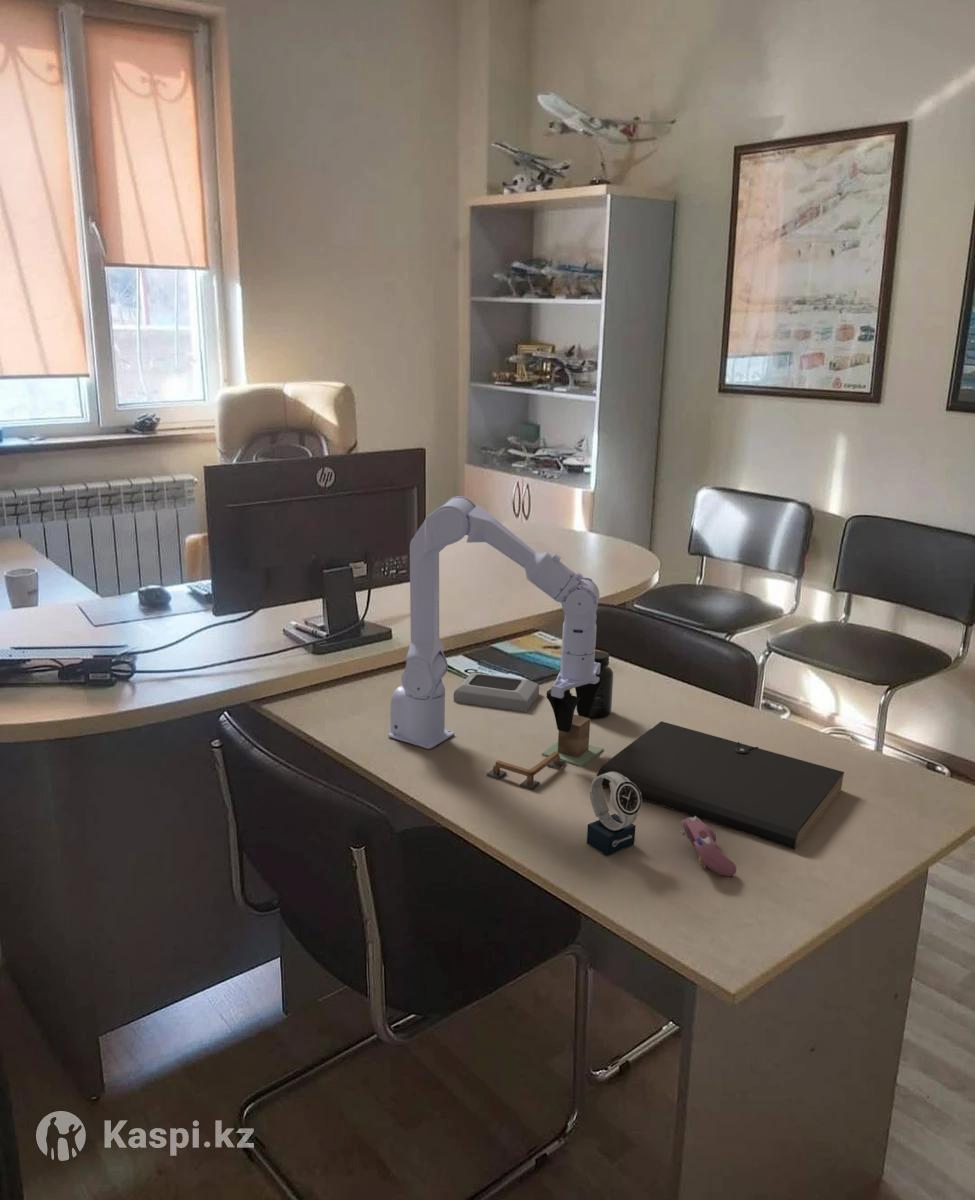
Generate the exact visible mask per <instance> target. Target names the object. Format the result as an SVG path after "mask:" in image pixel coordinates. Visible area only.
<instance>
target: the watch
mask: <svg viewBox="0 0 975 1200" xmlns="http://www.w3.org/2000/svg"><path fill="white" fill-rule="evenodd" d="M604 778H606V779H609V781H611V782H610V783H609V785H610V788H609V789H610V803H611V806H612V808H613V810H614V811H615V812H616V813H617V814H616V813H613V814H610V813H609V811H610V809H609V805H608V804H607V799H606V796H605V790H604V789H603V786H602V781H603V779H604ZM589 797H590V802H591V805H592V806H591V807H592V810H593V812H594V814H595V817H597V818H598V819H597V820H595V821H592V822H590V823H588V824H587V832H586V844H587V845H589V846H590V847H592V848H593V849H595V850H597V852H600V853H601V852H602V853H601V854H602V855H604V856H605V857H609V856H611V855H614V854H616V853H618V852H620V851H622V850H625V849H627V848H630V847H632V846H634V845H635V842H636V841H635V838H636V827H637V826H636V824H634V823H635V821H636V819H637V817H638V816H639V813H640V809H641V807H642V801H643V799H641V792H640V791H639V789H638V788H637V786H636V785H635V784H634V783H632V782H630V780H629V779H628V778H627V777H624V776H623V775H621V774H620V773H617V772H608V773H605V774H602V775H600V776H597V775H596V777H594V778H593V780H592V782H591V784H590V791H589Z"/></svg>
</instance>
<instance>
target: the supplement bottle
mask: <svg viewBox="0 0 975 1200" xmlns="http://www.w3.org/2000/svg"><path fill="white" fill-rule="evenodd" d="M594 662H597V663H600V664H601V666H600V674H598V675H597V676H598V677H602V678H604V679H605V681H604V684H603V686H602V687H601V689H600V690H599V692H598V695H597V697H596V700H595V703H594V706H593V709H592V712H591V715H590V717H589V718H590V720H598V719H599V720H600V719H606V718H607V717H609V716H610V715H611V714H612V706H613V705H612V704H613V689H614V687H613V686H614V672H613V669H612V668H611V667H610V666H609V665H610V655H609V654H608V653H607V652H605V651H600V650H595V660H594ZM575 711H576V713H577V714H578V712H577V705H576V708H575ZM586 718H587V717H586Z"/></svg>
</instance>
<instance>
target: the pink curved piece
mask: <svg viewBox="0 0 975 1200" xmlns="http://www.w3.org/2000/svg"><path fill="white" fill-rule="evenodd" d="M681 824H682V829H680V834H681V836H682V837H683V838H685V837H686V838H688V839H689V841H690V842H691V844H692V846H693V849H694V850H695V852H696V854H697V856H698V859H697V860H698V862H699V864H700V865H701V864H702V865H703V866H704V868H705V869H706V868H709V869H711V870H712V871H714V872H715V873H716V874H719V875H721V876H724V877H733V876H734V875H735V874H736V872H737V868H736V864H735V863H734V861H732V860H731V859H730V858H728V857H727V856H725V854H724V853H722V852H721V851H720V850H719V848H718V846H717V845H716V842H717V834H716V833H715V831H714V830H713V829H711V828H710V827H709V826H708V825H707V824H706V823H704V822H703V821H702V820H701V818H698V817H696V816H693V817H692V816H691V817H687V818H685V819H683V820H681Z"/></svg>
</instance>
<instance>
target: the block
mask: <svg viewBox="0 0 975 1200" xmlns="http://www.w3.org/2000/svg"><path fill="white" fill-rule="evenodd" d="M590 727H591V719H590V718H586V717H583V716H579V715H578V714H573V720H572V726H571V729H570V731H569V732H568V733H567V732H563V731H560V730H558V734H557V735H558V738H557V742H558V752H559V753H562V754H566V755H569V756H572V757H576V758H579V757H580V756H581V755H583V754H584V753H585V752H586V751H588V749H589V745H590V730H591V729H590Z"/></svg>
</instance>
